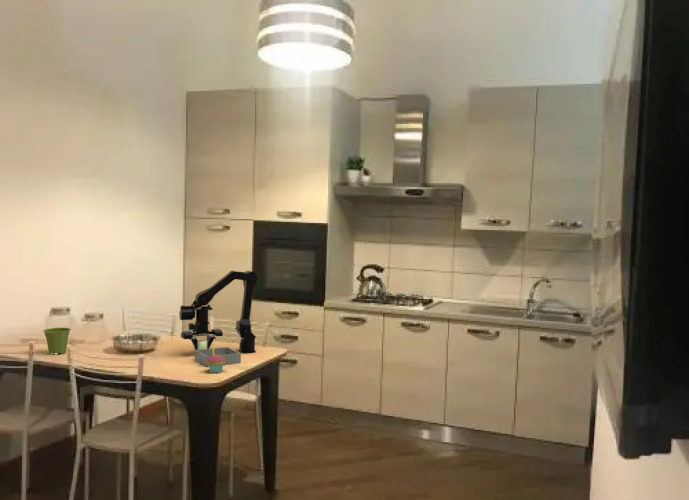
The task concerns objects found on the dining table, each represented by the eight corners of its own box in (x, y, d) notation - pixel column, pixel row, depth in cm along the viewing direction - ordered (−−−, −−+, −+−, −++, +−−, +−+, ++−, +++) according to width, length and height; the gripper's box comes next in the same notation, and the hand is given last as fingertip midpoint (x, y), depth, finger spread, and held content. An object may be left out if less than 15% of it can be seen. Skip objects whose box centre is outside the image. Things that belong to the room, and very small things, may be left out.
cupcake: (215, 374, 260) (216, 346, 259) (201, 371, 264) (201, 343, 264) (230, 370, 267) (230, 343, 267) (215, 368, 272) (215, 340, 271)
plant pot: (45, 351, 299) (45, 327, 298) (72, 350, 302) (72, 327, 301) (41, 356, 287) (41, 332, 287) (68, 355, 291) (68, 331, 290)
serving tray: (227, 356, 295) (228, 346, 295) (240, 363, 281) (240, 353, 281) (194, 359, 287) (194, 350, 286) (206, 367, 273) (206, 356, 273)
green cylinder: (205, 353, 300) (205, 339, 300) (208, 355, 296) (208, 341, 295) (195, 354, 297) (195, 340, 297) (198, 356, 293) (198, 341, 293)
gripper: (215, 315, 307) (214, 346, 308) (177, 318, 298) (177, 350, 298) (223, 318, 298) (222, 351, 299) (184, 321, 288) (184, 355, 289)
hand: (201, 351), depth 296 cm, fingers closed on green cylinder, 5 cm apart
